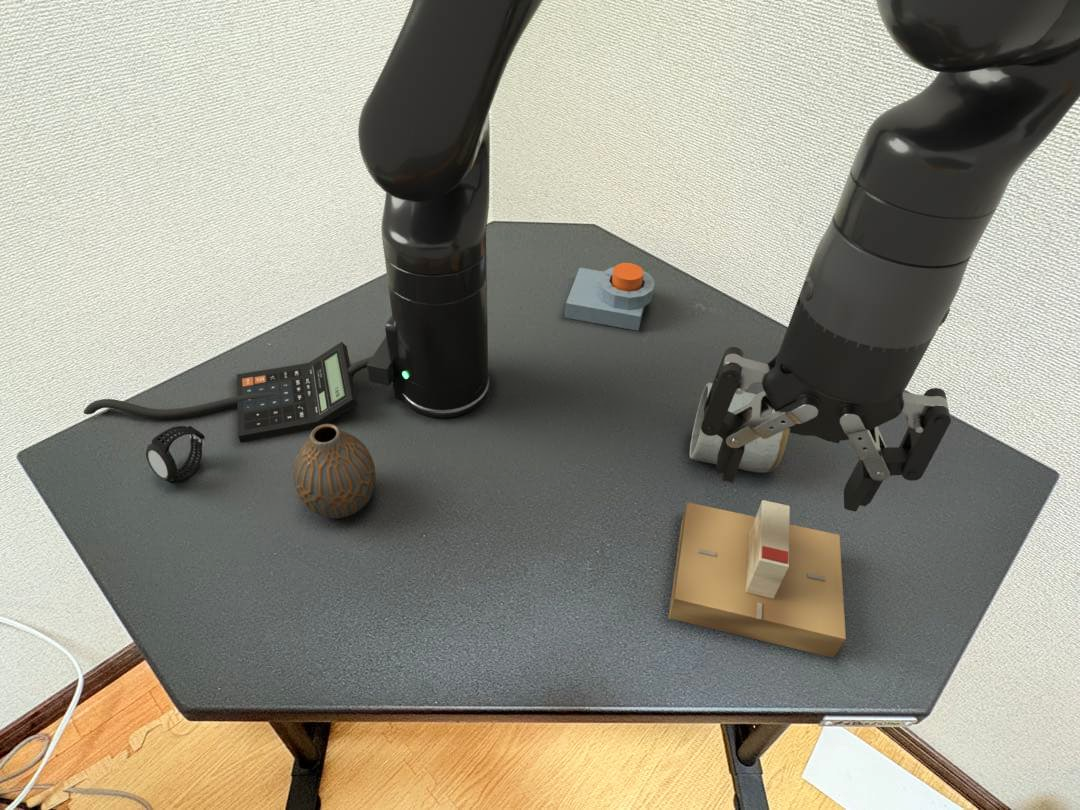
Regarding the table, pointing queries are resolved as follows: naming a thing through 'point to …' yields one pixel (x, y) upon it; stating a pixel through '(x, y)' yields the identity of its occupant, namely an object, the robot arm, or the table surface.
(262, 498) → the table surface
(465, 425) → the table surface
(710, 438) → the ceramic mug
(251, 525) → the table surface
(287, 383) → the calculator
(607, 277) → the button block
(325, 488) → the vase
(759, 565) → the cream red striped block
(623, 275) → the button
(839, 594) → the knob base
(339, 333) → the table surface
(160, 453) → the smartwatch
